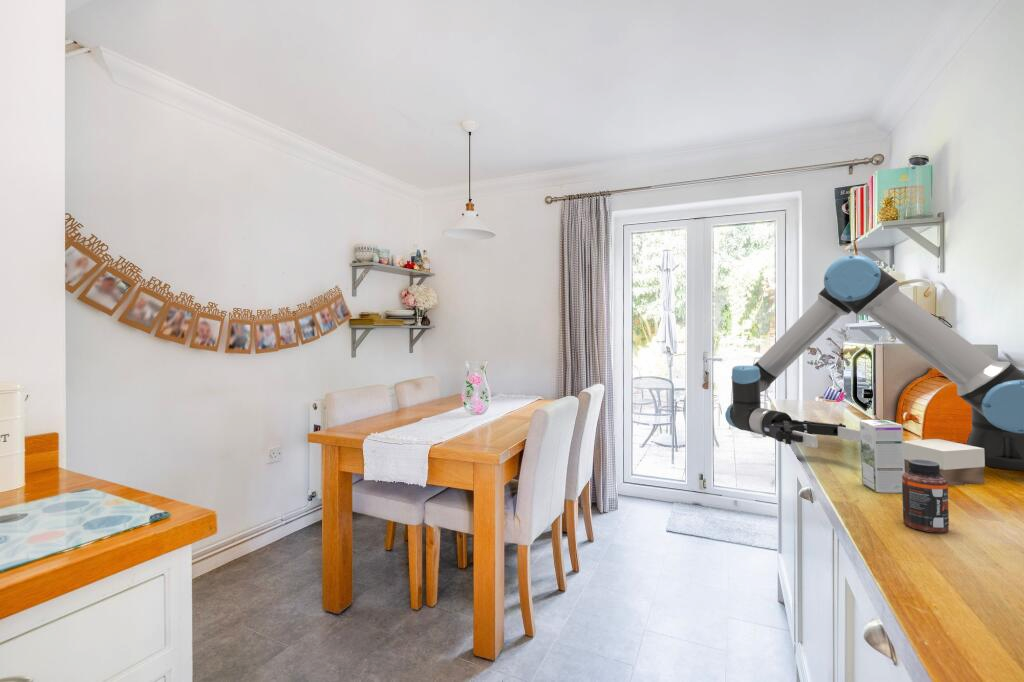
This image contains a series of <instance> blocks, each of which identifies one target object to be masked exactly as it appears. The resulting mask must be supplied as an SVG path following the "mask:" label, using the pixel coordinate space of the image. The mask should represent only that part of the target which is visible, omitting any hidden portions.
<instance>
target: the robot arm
mask: <svg viewBox="0 0 1024 682" xmlns="http://www.w3.org/2000/svg"><path fill="white" fill-rule="evenodd" d="M823 286H824V287H823V289H821V290H820V292H819V293H818V294H817V300H816V301H815V302H814V303H813V304H812V305H811V306H810V307H808V309H807V310H806V311H805V312H804V313H803V314H802V315H801V316H800V317H799V319H797V320H796V322H795V323H793V324H792V325H791V326H790V327H789V328H788V330H786V332H784V334H782V336H781V337H779V339H777V341H776V342H774V344H773V345H772V346H771V347H770V348H769V349H768V350H767V351H766V352H764V353H763V354H762V356H761V357H760V358H759V359H758V360H757V361H756V362H755V363H754V364H752V365H736V366H733V367H732V368H731V369H732V370H731V377H730V378H731V383H732V386H731V387H732V404H730V405H729V406H728V407H727V408H726V411H725V416H724V417H725V420H726V422H727V423H728V425H730V426H731V427H733V428H736V429H738V430H742V431H746V432H751V433H754V434H757V435H761V436H762V437H763V438H766V437H768V438H771V439H774V440H776V441H777V442H784V440H785V445H792V443H796V444H800V445H803V446H807V447H810V448H813V449H818V448H819V447H818V446H819V444H818V443H819V442H818V437H819V436H820V435H821V436H830V437H831V436H832V437H833V436H834V437H837V438H839V439H843V440H848V441H852V442H855V443H859V444H861V441H860V429H854V428H850V427H847V426H846V425H845V424H843V423H842V422H841V423H839V424H835V423H826V422H817V421H812V420H811V421H810V420H803V421H801V420H797V419H793V418H792V417H791V416H790V415H789V414H788V413H786V412H783V411H779V410H773V409H769V408H763V407H761V402H762V401H761V393H763V392H765V391H766V390H767V389H768V388H770V387H771V384H772V383H774V381H775V380H777V378H778V377H780V375H782V373H783V372H784V371H786V370H787V368H789V367H790V366H791V365H792V364H794V362H795V361H796V360H797V359H798V358H799V357H800V356H801V355H802V354H804V352H805V351H807V350H808V349H809V348H810V347H811V345H812V344H813V343H815V342H816V341H817V340H818V339H819V338H820V337H821V336H822V335H823V334H824V333H825V332H826V331H828V329H829V328H831V326H833V324H834V323H836V321H837V320H838V319H840V318H841V317H842V316H848V315H849V314H851V313H852V312H853V313H855V315H856V316H869V318H871V319H872V320H873V321H875V322H876V323H877V324H879V326H881V327H883V329H885V330H887V332H889V333H890V334H891V335H892V336H894V337H895V338H896V339H898V340H899V341H900V342H902V343H903V344H904V345H906V346H907V347H908V348H909V349H910V350H912V351H913V352H914V353H916V354H917V355H918V357H921V358H922V359H923V360H924V361H926V362H927V363H928V364H929V365H931V366H932V367H933V368H935V370H937V371H939V372H940V374H942V375H943V376H944V377H946V378H947V379H948V380H950V381H951V382H952V383H953V384H954V385H956V388H957V389H956V391H957V393H956V394H957V396H959V398H961V399H962V400H963V401H965V402H966V404H969V405H970V407H971V430H970V433H969V435H968V437H967V439H966V440H967V441H966V443H965V445H970V446H975V447H980V448H984V455H985V467H991V468H996V469H1005V470H1012V471H1013V470H1014V471H1024V369H1019V368H1018V367H1016V366H1015V365H1014V364H1012V363H1011V362H1009V361H1001V360H1000V361H999V360H998V361H997V360H994V359H993V358H991V357H990V356H988V355H987V354H986V353H985V352H983V351H982V350H980V349H979V348H978V347H976V346H975V345H973V344H972V343H971V342H969V341H968V340H967V339H966V338H964V337H963V336H961V335H960V334H959V333H957V332H956V331H955V330H953V329H952V328H950V327H949V326H948V325H946V324H945V323H944V322H942V321H941V320H939V318H937V317H936V316H935V315H933V314H931V313H930V312H929V311H928V310H926V309H925V308H923V307H922V306H920V304H918V303H916V302H915V301H914V300H913V299H912V298H910V297H908V296H907V295H906V294H904V293H903V292H901V291H900V281H898V279H896V278H894V277H893V276H892V275H891V274H889V273H888V272H886V271H885V270H884V269H883V268H881V267H879V265H878V264H877V263H876V262H875V260H873V259H871V258H870V257H867V256H864V255H860V254H859V255H858V254H856V255H855V254H852V255H847V256H842V257H841V258H838V259H837V260H835V261H833V263H831V264H830V265H829V267H828V268H827V269H826V271H825V274H824V275H823ZM818 435H819V436H818Z"/></svg>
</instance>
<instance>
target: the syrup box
mask: <svg viewBox="0 0 1024 682" xmlns="http://www.w3.org/2000/svg"><path fill="white" fill-rule="evenodd" d="M859 430H860V441H861V443H860V457H861V458H860V459H861V480H862V482H861V484H862V485H864V486H865V487H867V488H868V489H871V490H872V491H874V492H876V493H880V494H881V493H883V494H902V475H903V473H905V464H904V444H903V441H904V425H903V424H900V423H897V422H894V421H891V420H888V419H861V420H859Z"/></svg>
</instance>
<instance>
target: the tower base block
mask: <svg viewBox="0 0 1024 682" xmlns="http://www.w3.org/2000/svg"><path fill="white" fill-rule="evenodd" d="M904 464H905V472H907V471H909V470H910V468H909V467H908V466H909V460H906V459H904ZM984 468H985V467H976V468H962V469H949V470H943V469H940V472H939V473H940V474H941V475H942V476H943V477H944V478H945V479H946V480H947V482H948V487H949V486H950V485H953V486H966V485H965V484H971V485H984V484H985V477H984V476H985V474H984V473H985V472H984Z"/></svg>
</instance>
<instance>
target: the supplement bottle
mask: <svg viewBox="0 0 1024 682" xmlns="http://www.w3.org/2000/svg"><path fill="white" fill-rule="evenodd" d="M908 467H909V468H910V470H909V471H907V472H905V473H903V475H902V493H901V494H902V495H901V496H902V497H901V498H902V518H903V522H904V524H905V525H906V526H908V527H910V528H912V529H914V530H919V531H921V532H927V533H933V534H941V533H946V532H947V531H949V529H950V528H949V527H950V521H949V520H950V518H949V517H950V516H949V486H948V482H947V480H946V479H945V478H944V477H943V476H942V475H941V474H940V473H939V472H940V467H939V464H938V463H936V462H933V461H927V460H909V466H908Z"/></svg>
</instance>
